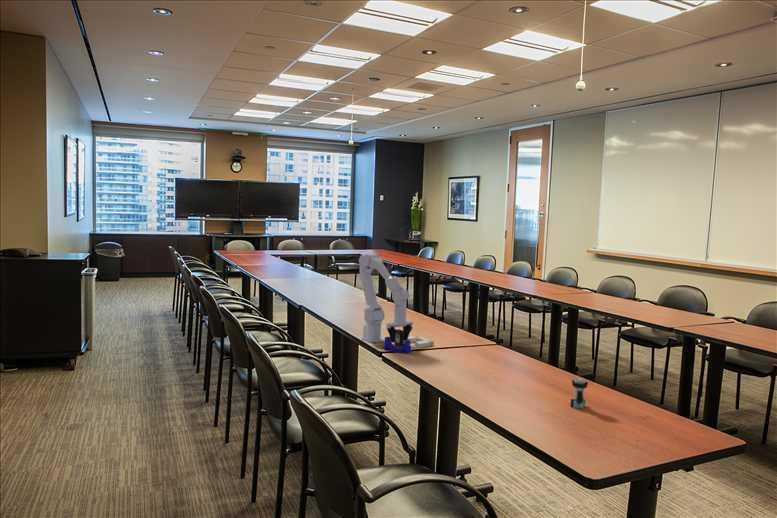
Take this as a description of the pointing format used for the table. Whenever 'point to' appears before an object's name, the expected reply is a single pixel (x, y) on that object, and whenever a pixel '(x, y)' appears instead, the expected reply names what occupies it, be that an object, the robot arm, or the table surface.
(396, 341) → the ink cartridge
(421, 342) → the groove holder
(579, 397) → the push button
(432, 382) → the table surface
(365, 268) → the robot arm
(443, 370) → the table surface
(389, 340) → the blue curved piece
